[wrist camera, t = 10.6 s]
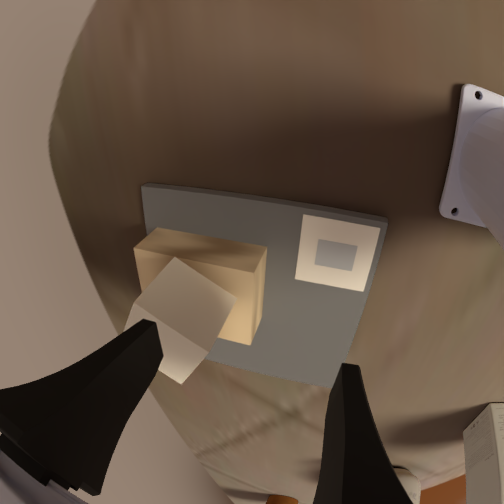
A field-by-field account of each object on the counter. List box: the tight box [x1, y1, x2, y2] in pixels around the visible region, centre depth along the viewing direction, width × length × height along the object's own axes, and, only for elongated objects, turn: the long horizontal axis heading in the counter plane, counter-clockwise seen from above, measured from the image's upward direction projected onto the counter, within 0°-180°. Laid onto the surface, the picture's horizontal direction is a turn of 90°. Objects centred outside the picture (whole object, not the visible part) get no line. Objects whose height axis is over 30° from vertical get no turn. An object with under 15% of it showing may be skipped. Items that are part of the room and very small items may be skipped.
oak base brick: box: [134, 227, 267, 345], centre depth 21 cm, size 8×6×3 cm
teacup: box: [393, 468, 420, 504], centre depth 31 cm, size 14×11×8 cm
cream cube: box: [124, 257, 237, 384], centre depth 18 cm, size 4×4×4 cm
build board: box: [141, 183, 388, 388], centre depth 23 cm, size 16×16×1 cm
